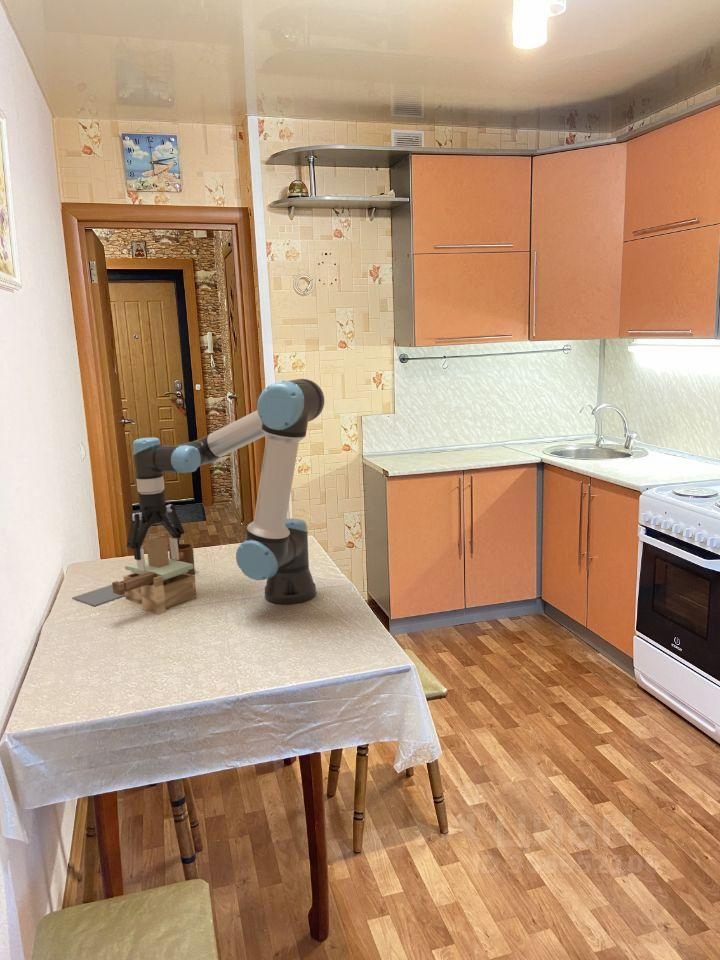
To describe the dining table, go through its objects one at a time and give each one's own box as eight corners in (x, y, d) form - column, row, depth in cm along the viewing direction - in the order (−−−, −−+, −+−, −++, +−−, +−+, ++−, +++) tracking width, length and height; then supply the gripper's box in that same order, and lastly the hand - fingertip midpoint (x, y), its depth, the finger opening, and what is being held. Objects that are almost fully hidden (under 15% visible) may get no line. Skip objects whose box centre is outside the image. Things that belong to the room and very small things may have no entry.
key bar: (158, 582, 200) (157, 572, 200) (120, 595, 191) (119, 584, 190) (150, 580, 203) (149, 570, 202) (113, 593, 193) (112, 582, 193)
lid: (194, 571, 209) (190, 537, 207) (162, 582, 200) (159, 547, 199) (157, 562, 220) (153, 530, 218) (125, 572, 211) (121, 539, 209)
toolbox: (199, 598, 210) (196, 564, 208) (158, 614, 199) (155, 578, 197) (159, 587, 222) (156, 554, 220) (118, 601, 211) (114, 567, 209)
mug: (195, 580, 227) (193, 552, 225) (171, 583, 225) (168, 554, 223) (194, 569, 238) (192, 542, 236) (171, 572, 236) (168, 544, 235)
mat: (152, 586, 222) (152, 585, 222) (94, 606, 207) (94, 605, 207) (129, 580, 230) (129, 578, 230) (72, 598, 214) (71, 597, 214)
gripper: (176, 483, 217) (183, 552, 221) (107, 498, 199) (116, 573, 203) (192, 485, 212) (198, 555, 217) (123, 501, 194) (132, 577, 198)
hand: (158, 564), depth 210 cm, fingers closed on lid, 11 cm apart
